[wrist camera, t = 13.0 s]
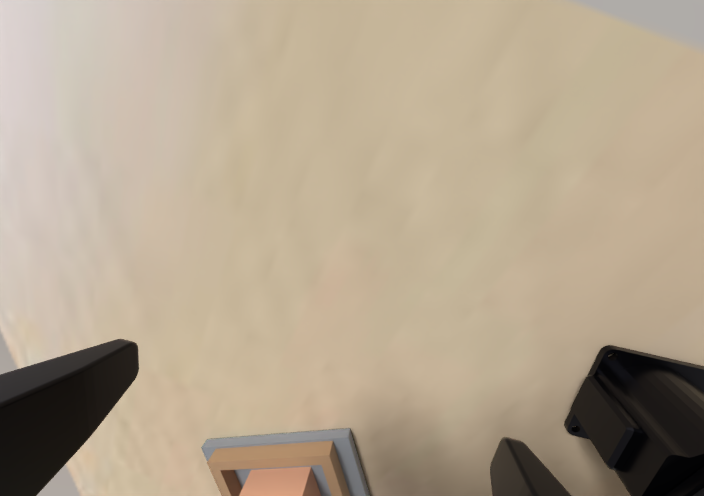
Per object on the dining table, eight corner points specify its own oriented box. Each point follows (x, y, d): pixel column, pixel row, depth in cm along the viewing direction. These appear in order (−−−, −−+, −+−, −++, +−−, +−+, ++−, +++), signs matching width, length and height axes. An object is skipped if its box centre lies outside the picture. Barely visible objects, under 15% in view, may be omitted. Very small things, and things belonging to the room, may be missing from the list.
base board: (349, 428, 25) (345, 451, 23) (379, 527, 27) (377, 556, 25) (206, 439, 27) (192, 461, 25) (246, 529, 30) (235, 555, 28)
